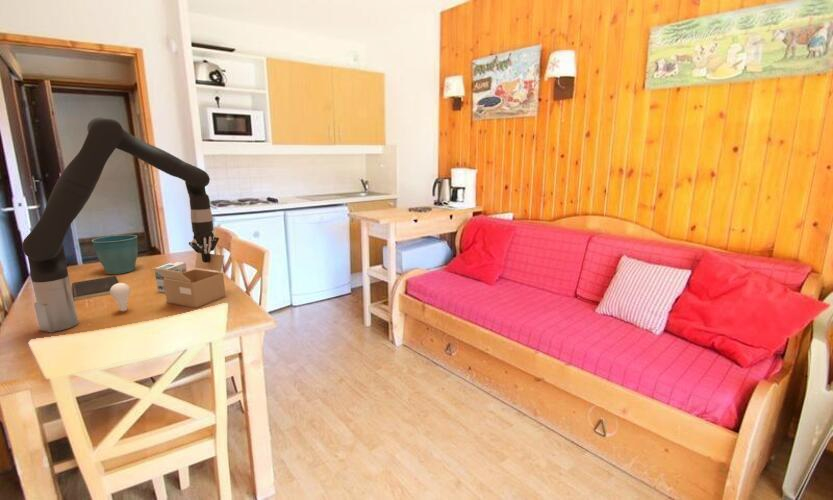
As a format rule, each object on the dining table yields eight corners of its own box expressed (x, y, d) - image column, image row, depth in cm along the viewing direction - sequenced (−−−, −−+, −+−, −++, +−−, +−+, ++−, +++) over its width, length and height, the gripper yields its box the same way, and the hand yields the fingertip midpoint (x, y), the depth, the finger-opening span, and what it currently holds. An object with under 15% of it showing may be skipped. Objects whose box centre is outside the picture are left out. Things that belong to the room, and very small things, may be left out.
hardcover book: (116, 280, 191) (115, 275, 190) (122, 293, 174) (121, 288, 173) (72, 287, 181) (71, 282, 180) (74, 302, 164) (72, 296, 163)
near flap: (191, 280, 153) (190, 281, 152) (164, 276, 158) (163, 277, 158) (179, 271, 148) (178, 272, 147) (151, 267, 153) (151, 268, 153)
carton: (196, 308, 155) (192, 283, 152) (166, 302, 161) (162, 278, 158) (225, 296, 167) (222, 273, 165) (197, 291, 173) (194, 269, 171)
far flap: (223, 255, 165) (223, 255, 166) (197, 252, 171) (198, 252, 171) (220, 271, 165) (221, 271, 165) (194, 267, 170) (195, 267, 170)
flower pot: (104, 268, 208) (98, 236, 204) (146, 264, 215) (140, 233, 211) (93, 278, 192) (86, 243, 188) (138, 274, 199) (132, 240, 195)
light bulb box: (170, 293, 171) (167, 268, 169) (157, 292, 173) (153, 268, 170) (189, 285, 182) (186, 262, 179) (176, 284, 183) (173, 261, 180)
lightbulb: (130, 306, 157) (125, 279, 154) (136, 310, 153) (131, 282, 150) (111, 311, 152) (106, 283, 149) (116, 315, 148) (111, 287, 146)
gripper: (194, 223, 155) (199, 267, 159) (222, 218, 167) (226, 259, 171) (180, 221, 158) (185, 265, 162) (208, 217, 170) (213, 257, 174)
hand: (206, 262), depth 166 cm, fingers closed
